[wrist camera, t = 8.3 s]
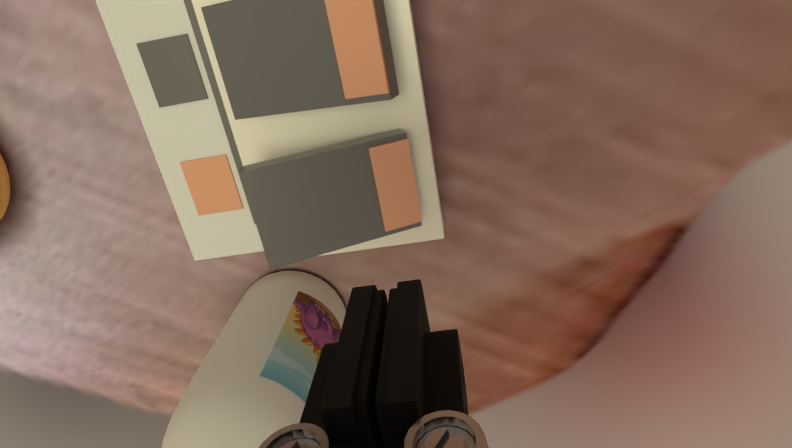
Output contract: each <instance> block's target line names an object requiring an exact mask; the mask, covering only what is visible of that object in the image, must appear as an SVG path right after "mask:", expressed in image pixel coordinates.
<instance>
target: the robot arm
mask: <svg viewBox="0 0 792 448" xmlns="http://www.w3.org/2000/svg"><path fill="white" fill-rule="evenodd" d="M259 448H489V447H488V444H487V441H486V438H485V435H484V432H483V430H482V429H481V427H480V425H479V423H477V422H476V421H475V420H474V419H473V418H472V417H471V416H469V415H468V405H467V395H466V386H465V377H464V369H463V362H462V355H461V349H460V342H459V336H458V331H457V329H453V330H444V331H435V332H430V327H429V322H428V316H427V311H426V305H425V300H424V294H423V289H422V284H421V280H420V279H419V280H411V281H403V282H398V284H397V288H394V289H390V293H389V300H388V302H387V297H386V293H385V291H384V290H377V288H376V286H375V285H371V286H363V287H355V288H353V289H352V292H351V295H350V299H349V303H348V306H347V310H346V314H345V318H344V321H343V325H342V329H341V332H340V336H339V340H338V342H334V343H326V344H325V345H324V346H323V348H322V351H321V354H320V358H319V361H318V364H317V367H316V371H315V374H314V377H313V380H312V383H311V387H310V390H309V393H308V396H307V400H306V403H305V406H304V409H303V412H302V416H301V419H300V422H299V423H297V424H292V425H289V426H286V427H283V428H281V429H279V430H278V431H276V432H274V433H273V434H271V435H270V436H269V437H268V438H267V439H266V440H265V441H263V443H262V444H261V445H260V447H259Z"/></svg>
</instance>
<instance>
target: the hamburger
mask: <svg viewBox="0 0 792 448" xmlns="http://www.w3.org/2000/svg"><path fill="white" fill-rule="evenodd" d="M10 190H11V189H10V178H9V174H8V171H7V167H6V164H5V162H4V160H3V157H2V155H1V153H0V220H1V219H2V217H3V216H4V214H5V212H6V209H7V206H8V203H9V199H10Z"/></svg>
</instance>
